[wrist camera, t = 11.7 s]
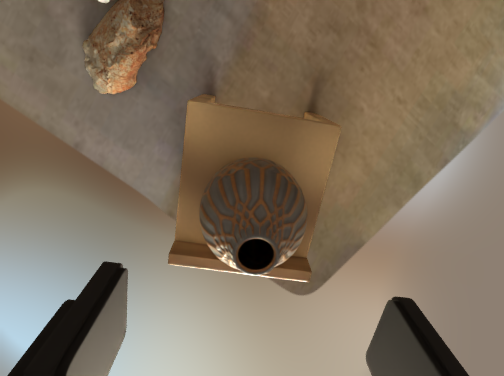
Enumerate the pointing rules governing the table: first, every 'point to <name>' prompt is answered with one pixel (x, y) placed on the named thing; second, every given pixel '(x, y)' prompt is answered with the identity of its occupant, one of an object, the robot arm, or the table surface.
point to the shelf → (245, 146)
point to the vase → (253, 215)
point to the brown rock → (122, 43)
